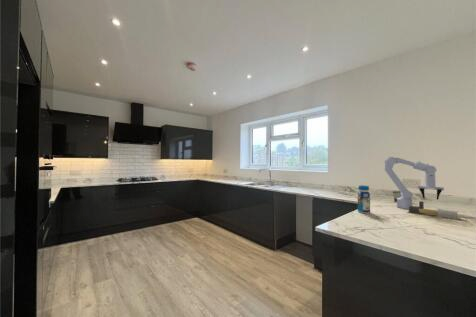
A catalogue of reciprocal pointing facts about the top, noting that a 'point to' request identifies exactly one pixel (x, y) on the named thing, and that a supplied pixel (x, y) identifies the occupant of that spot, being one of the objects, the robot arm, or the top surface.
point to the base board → (435, 216)
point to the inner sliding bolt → (429, 211)
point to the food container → (396, 195)
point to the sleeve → (447, 214)
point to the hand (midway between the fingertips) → (430, 198)
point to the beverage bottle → (363, 199)
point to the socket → (413, 209)
